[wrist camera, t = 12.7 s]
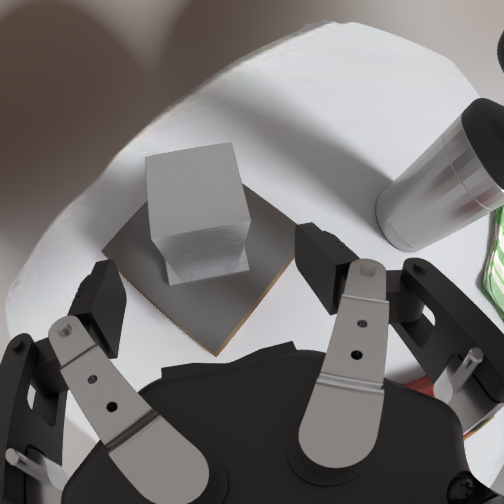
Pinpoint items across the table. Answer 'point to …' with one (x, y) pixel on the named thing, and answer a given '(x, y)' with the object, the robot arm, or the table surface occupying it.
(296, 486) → the robot arm
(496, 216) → the dish towel
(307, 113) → the table surface
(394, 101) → the table surface
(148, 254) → the stand
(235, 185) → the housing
